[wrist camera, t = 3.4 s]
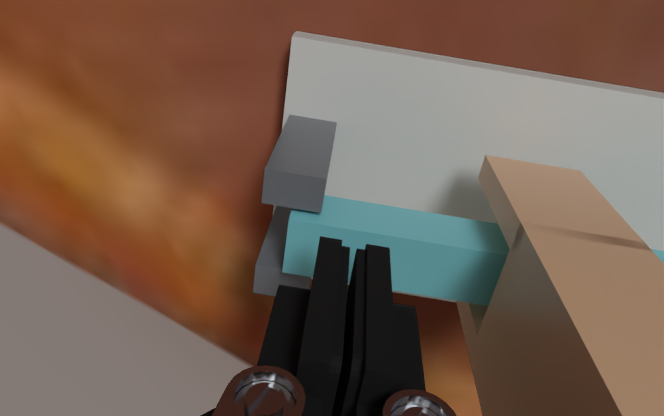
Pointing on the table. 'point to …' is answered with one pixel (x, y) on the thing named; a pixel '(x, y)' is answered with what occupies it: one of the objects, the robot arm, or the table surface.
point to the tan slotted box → (566, 302)
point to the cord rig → (439, 160)
